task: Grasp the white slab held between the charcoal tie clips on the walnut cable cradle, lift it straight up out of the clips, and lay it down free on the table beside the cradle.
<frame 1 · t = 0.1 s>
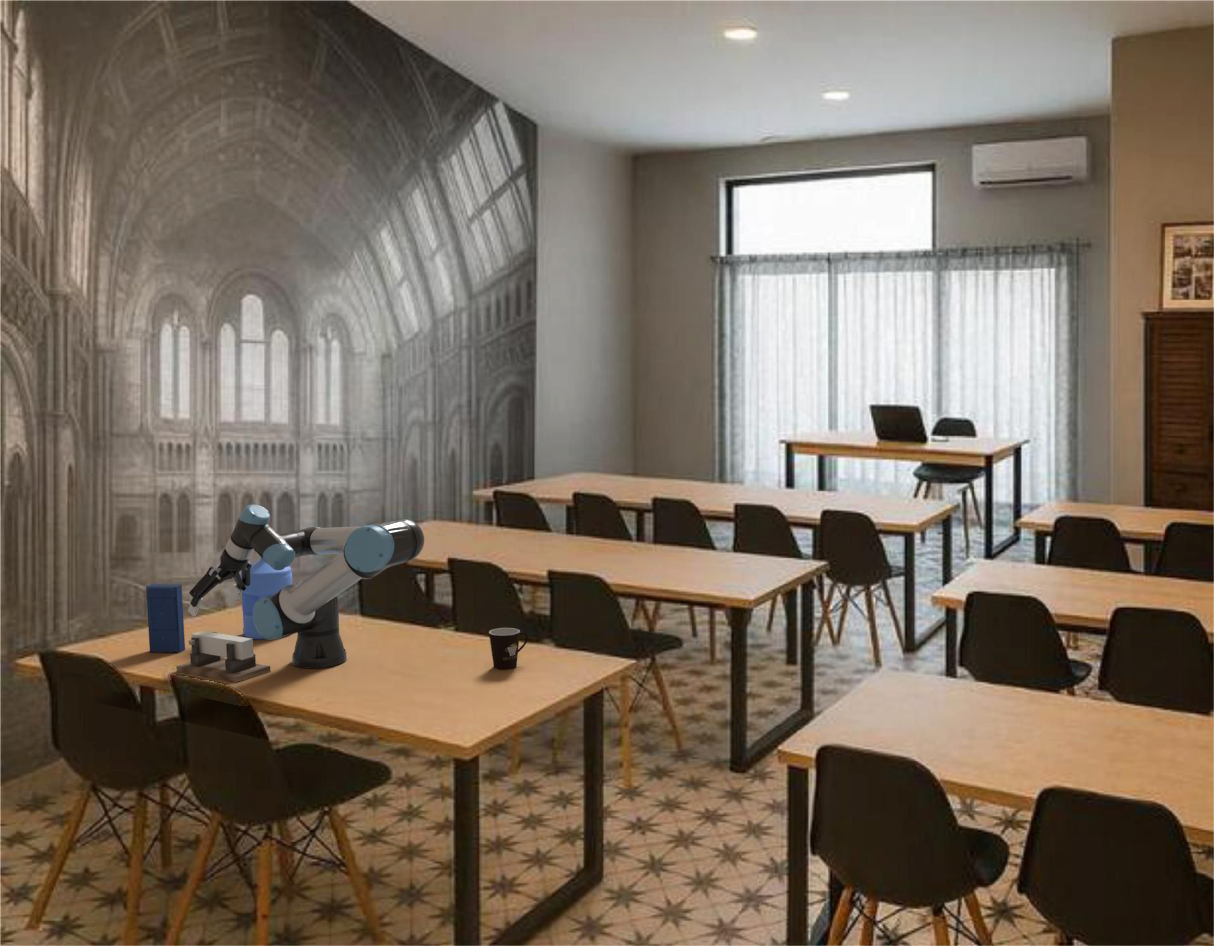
hand: (210, 608, 327), 15 cm above the table, tool tilted 35°, fingers open, 13 cm apart
white slab: (222, 653, 317), point 5 cm above the table, touching cable cradle
electronic device: (167, 651, 341), on the table
water jug: (269, 634, 360), on the table
cable cradle: (223, 671, 317), on the table
coffee mug: (510, 666, 318), on the table
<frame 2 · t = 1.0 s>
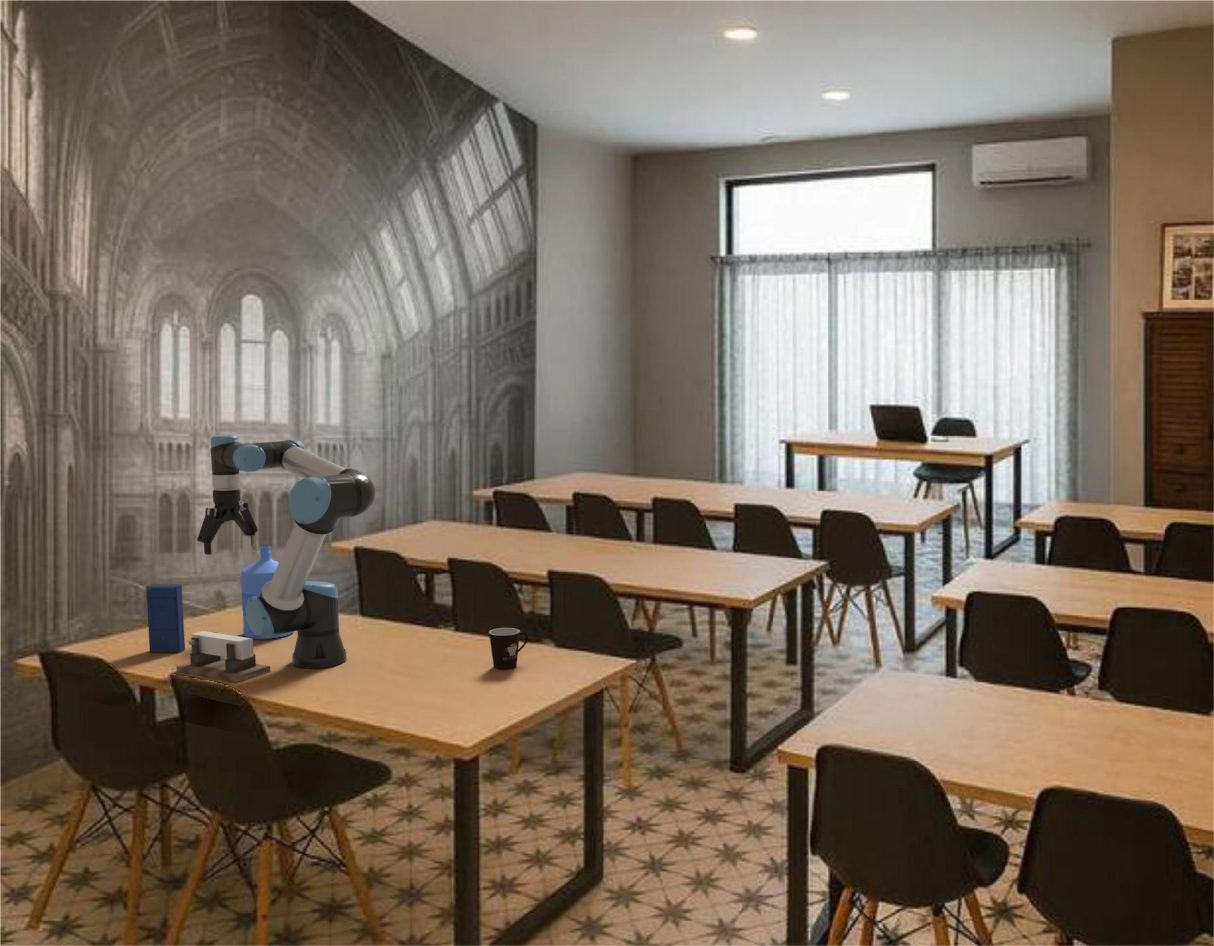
hand: (229, 561, 329), 29 cm above the table, tool pointing down, fingers open, 13 cm apart
nothing on the table moved.
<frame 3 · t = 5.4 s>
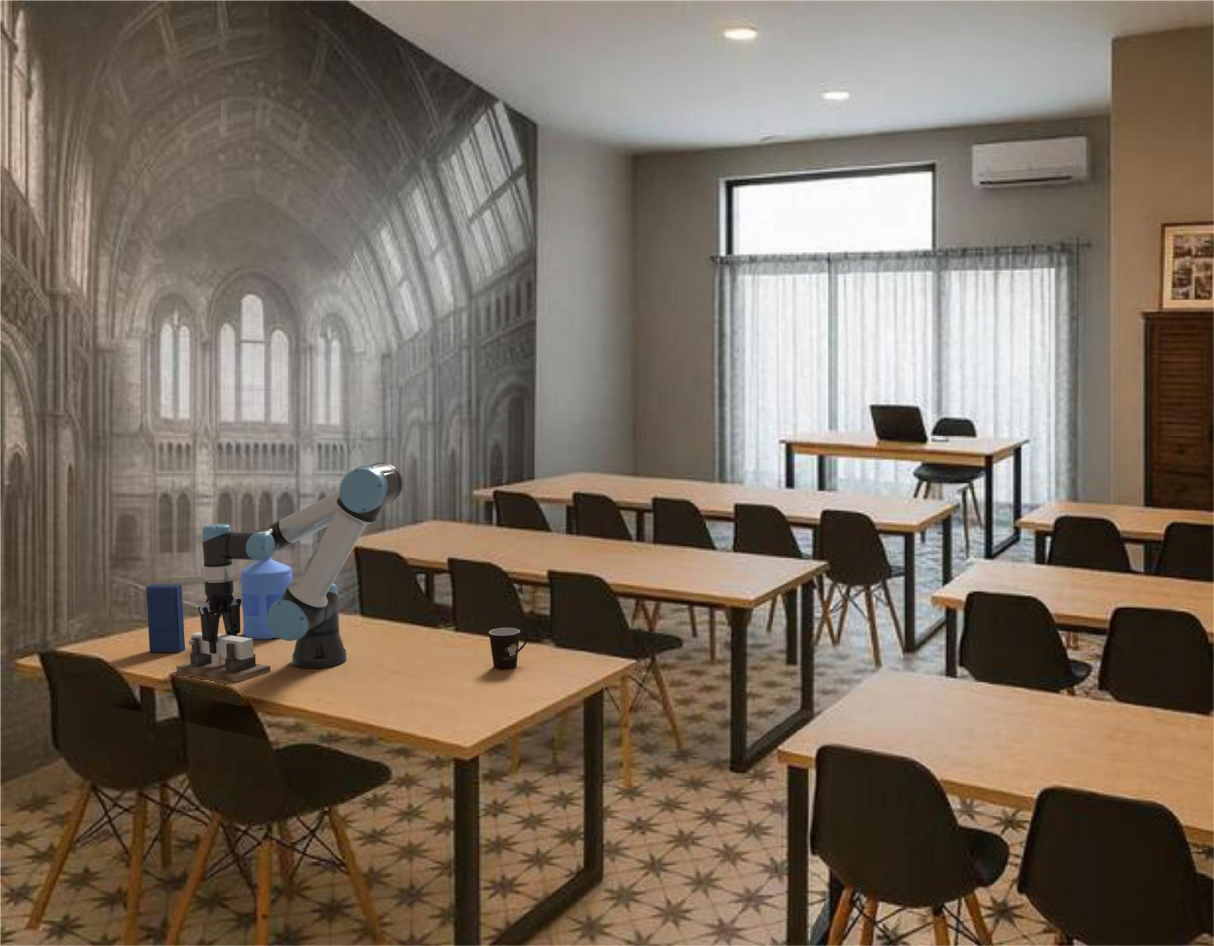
hand: (223, 662, 317), 3 cm above the table, tool pointing down, fingers closed on white slab, 4 cm apart
white slab: (222, 653, 317), point 5 cm above the table, touching cable cradle, gripper
everything else where it was.
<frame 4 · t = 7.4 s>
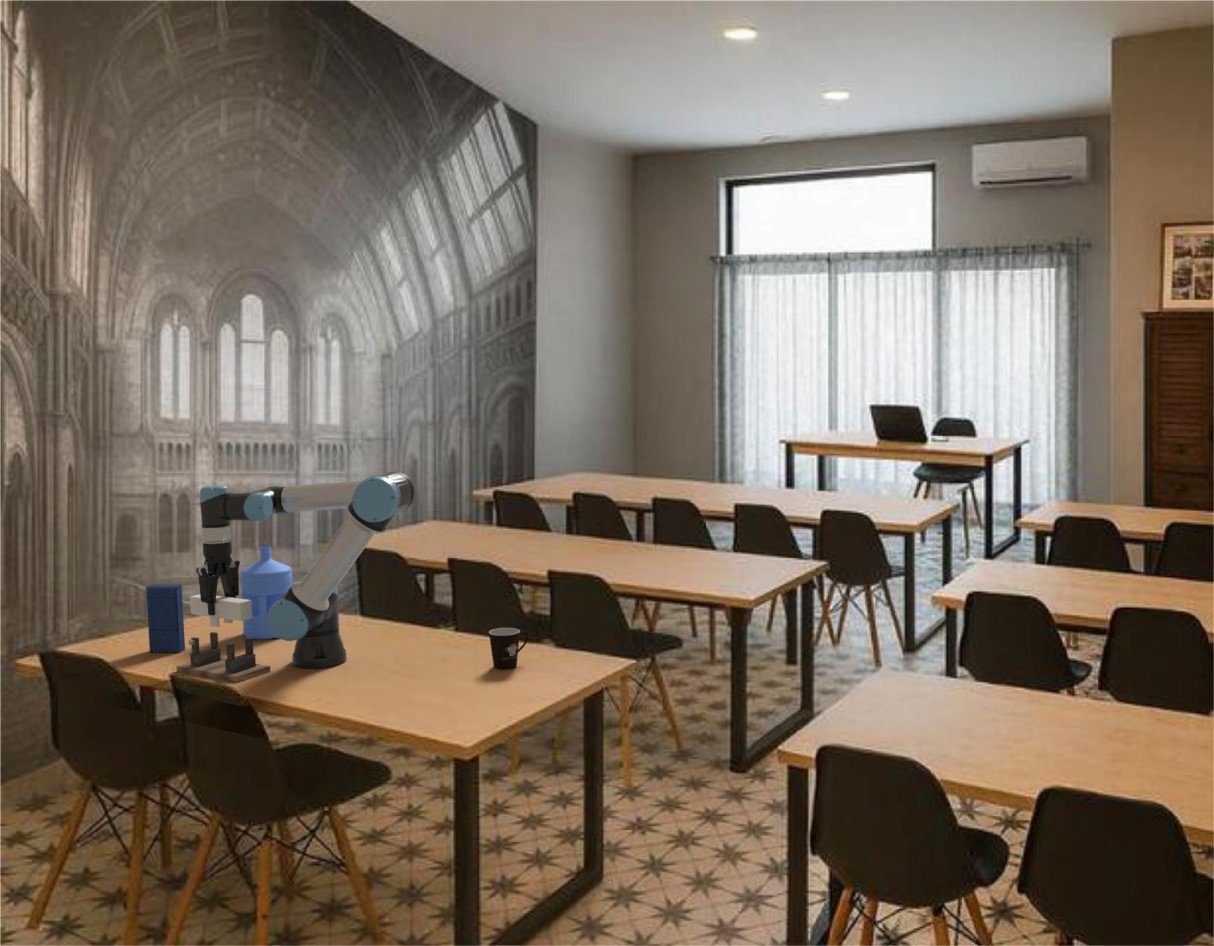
hand: (221, 624, 316), 13 cm above the table, tool pointing down, fingers closed on white slab, 4 cm apart
white slab: (221, 615, 316), point 16 cm above the table, touching gripper
everything else where it was.
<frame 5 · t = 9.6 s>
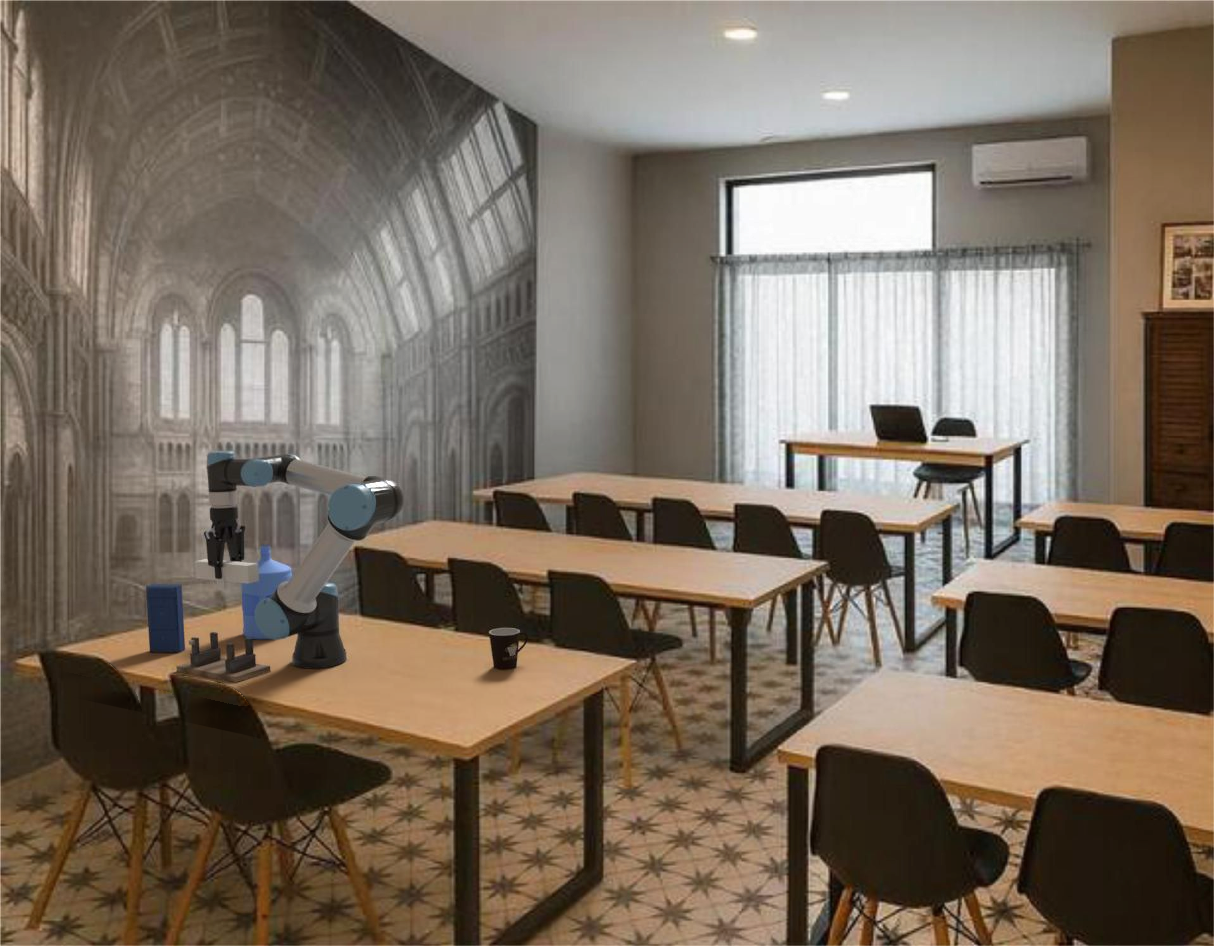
hand: (228, 587, 321), 23 cm above the table, tool pointing down, fingers closed on white slab, 4 cm apart
white slab: (227, 579, 320), point 25 cm above the table, touching gripper
everything else where it was.
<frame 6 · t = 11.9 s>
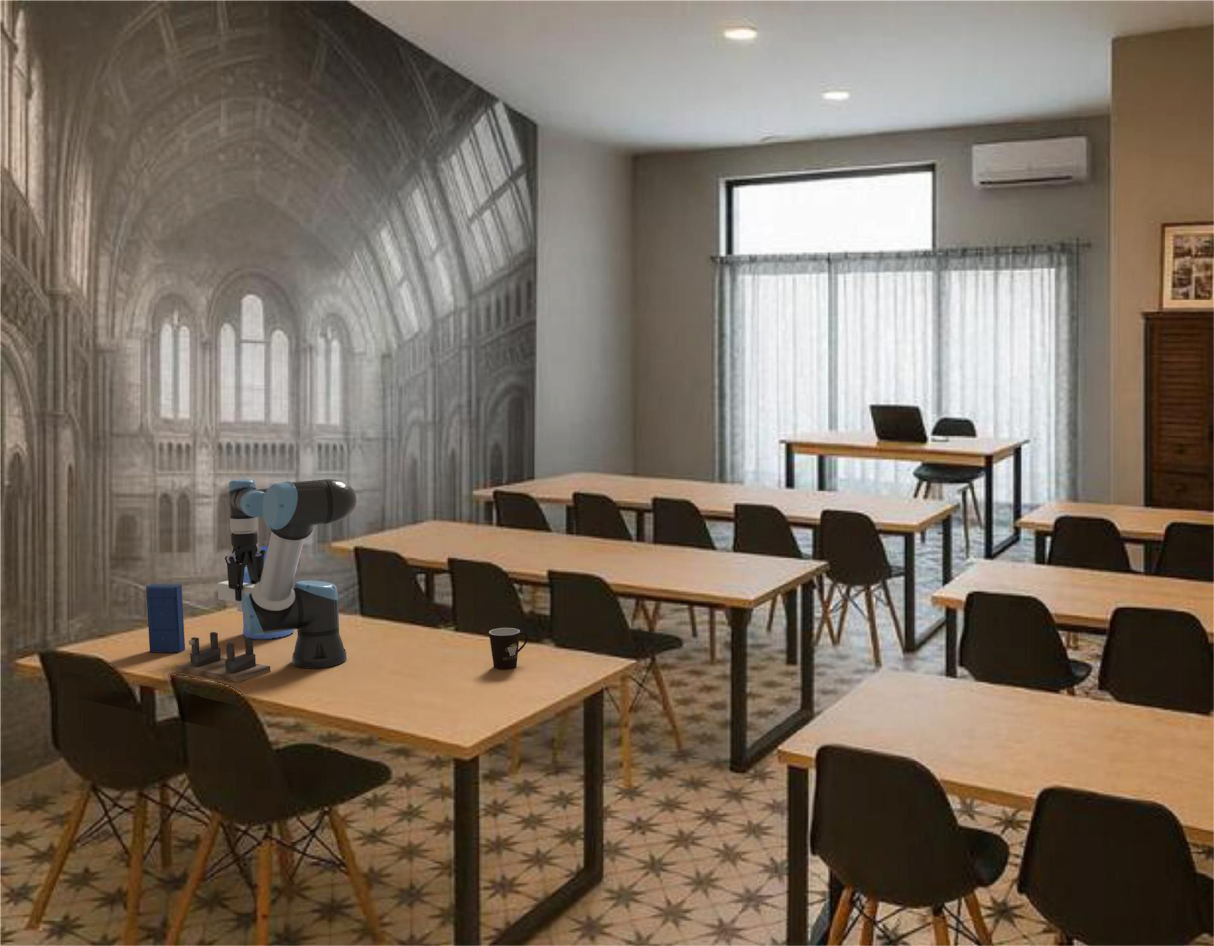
hand: (247, 609, 336), 13 cm above the table, tool pointing down, fingers closed on white slab, 4 cm apart
white slab: (247, 601, 336), point 15 cm above the table, touching gripper
everything else where it was.
when the fingers open (1 cm above the table, at t = 13.8 s): white slab drops 4 cm, on the table.
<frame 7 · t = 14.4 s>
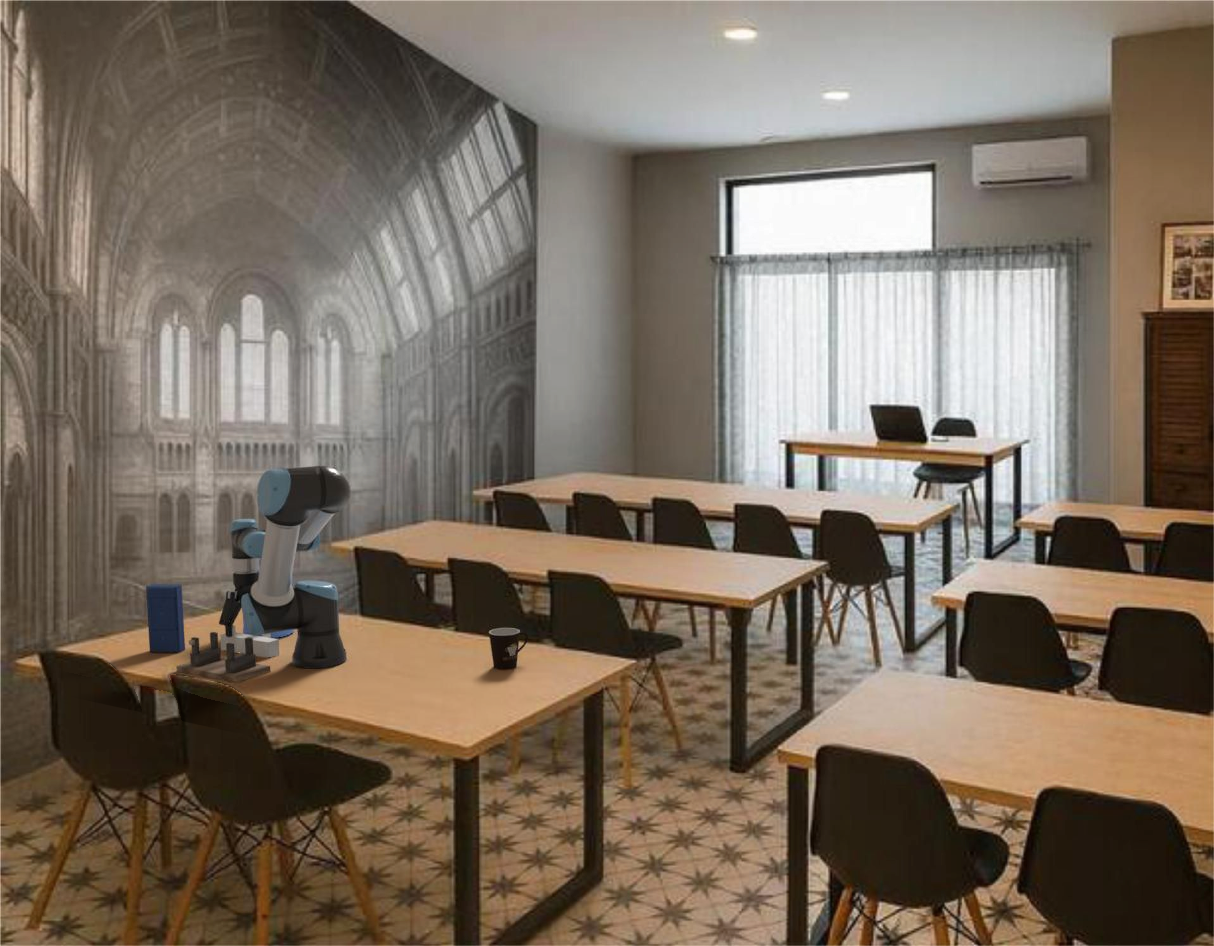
hand: (249, 642, 337), 3 cm above the table, tool pointing down, fingers open, 13 cm apart
white slab: (250, 653, 337), on the table
everything else where it was.
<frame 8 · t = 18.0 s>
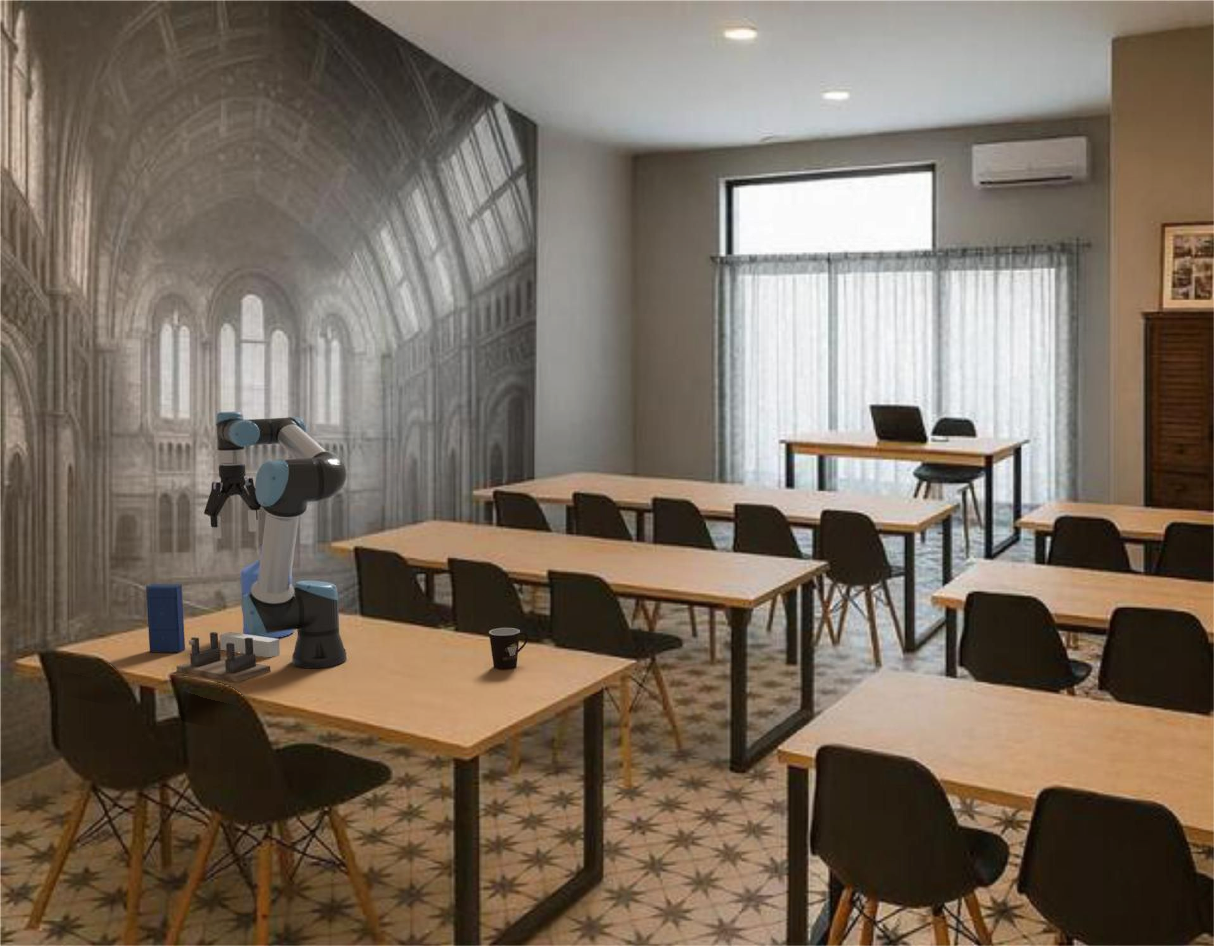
hand: (235, 534, 338), 35 cm above the table, tool pointing down, fingers open, 13 cm apart
nothing on the table moved.
at the end: white slab on the table; white slab moved 20.9 cm from its start; white slab touching table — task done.
